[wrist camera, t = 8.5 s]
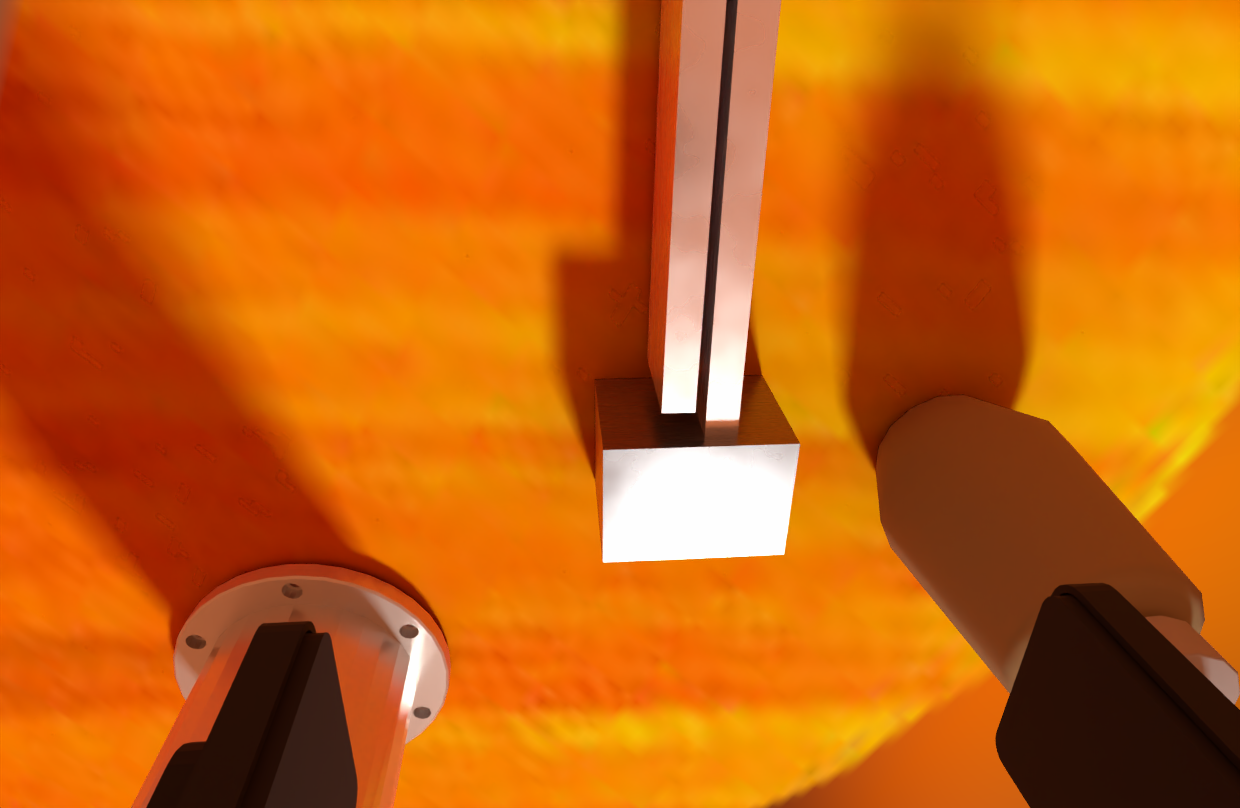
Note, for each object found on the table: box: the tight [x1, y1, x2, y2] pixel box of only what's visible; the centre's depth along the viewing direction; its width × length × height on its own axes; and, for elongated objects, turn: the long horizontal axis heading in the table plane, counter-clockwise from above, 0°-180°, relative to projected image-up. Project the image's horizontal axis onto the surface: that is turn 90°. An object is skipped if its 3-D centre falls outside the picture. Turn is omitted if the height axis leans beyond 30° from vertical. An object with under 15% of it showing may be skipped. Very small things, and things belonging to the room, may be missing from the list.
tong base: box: [595, 0, 800, 562], centre depth 26 cm, size 24×7×6 cm, turn 179°
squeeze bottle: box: [876, 395, 1240, 705], centre depth 27 cm, size 8×8×18 cm
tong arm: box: [647, 0, 727, 413], centre depth 24 cm, size 19×1×5 cm, turn 179°
